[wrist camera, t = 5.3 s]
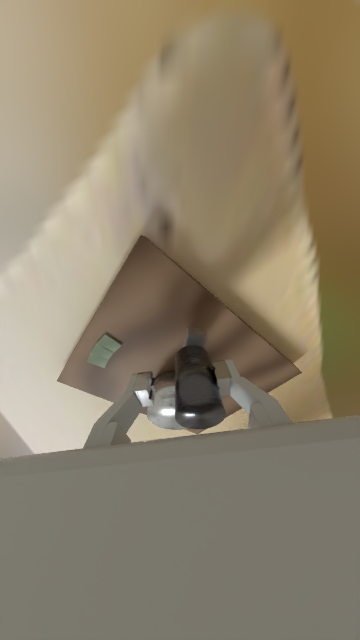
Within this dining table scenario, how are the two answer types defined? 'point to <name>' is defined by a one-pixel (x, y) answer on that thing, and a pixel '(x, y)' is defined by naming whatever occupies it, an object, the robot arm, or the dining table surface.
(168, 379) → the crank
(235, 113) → the dining table surface
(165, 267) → the board
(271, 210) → the dining table surface
